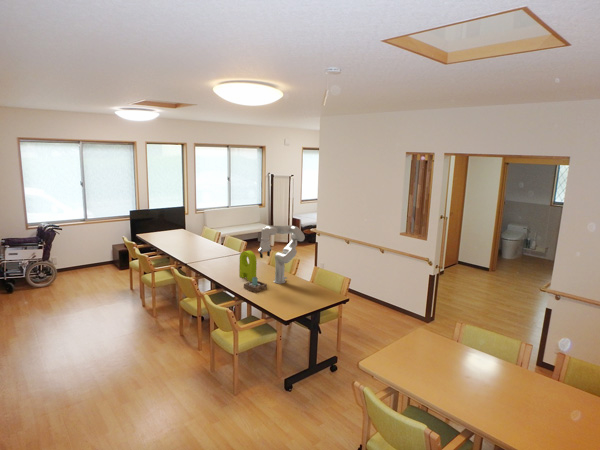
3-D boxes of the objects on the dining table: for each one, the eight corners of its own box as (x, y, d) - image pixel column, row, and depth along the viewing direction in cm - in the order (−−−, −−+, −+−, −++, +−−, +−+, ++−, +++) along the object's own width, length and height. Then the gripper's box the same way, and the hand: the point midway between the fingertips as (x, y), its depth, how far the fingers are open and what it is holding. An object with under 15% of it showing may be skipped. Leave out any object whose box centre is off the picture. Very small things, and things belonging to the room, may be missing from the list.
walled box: (255, 284, 383) (256, 280, 382) (266, 288, 372) (266, 284, 371) (243, 288, 371) (243, 283, 370) (254, 292, 360) (254, 288, 360)
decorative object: (256, 280, 396) (256, 252, 390) (251, 281, 391) (251, 253, 386) (244, 275, 409) (244, 248, 404) (239, 276, 404) (239, 249, 399)
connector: (254, 286, 375) (254, 276, 373) (257, 287, 372) (257, 277, 370) (252, 287, 372) (252, 277, 370) (254, 288, 370) (254, 278, 368)
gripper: (268, 238, 380) (268, 254, 384) (256, 240, 368) (255, 257, 371) (274, 239, 376) (273, 256, 379) (261, 242, 363) (261, 259, 366)
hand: (264, 256), depth 375 cm, fingers open, 9 cm apart
